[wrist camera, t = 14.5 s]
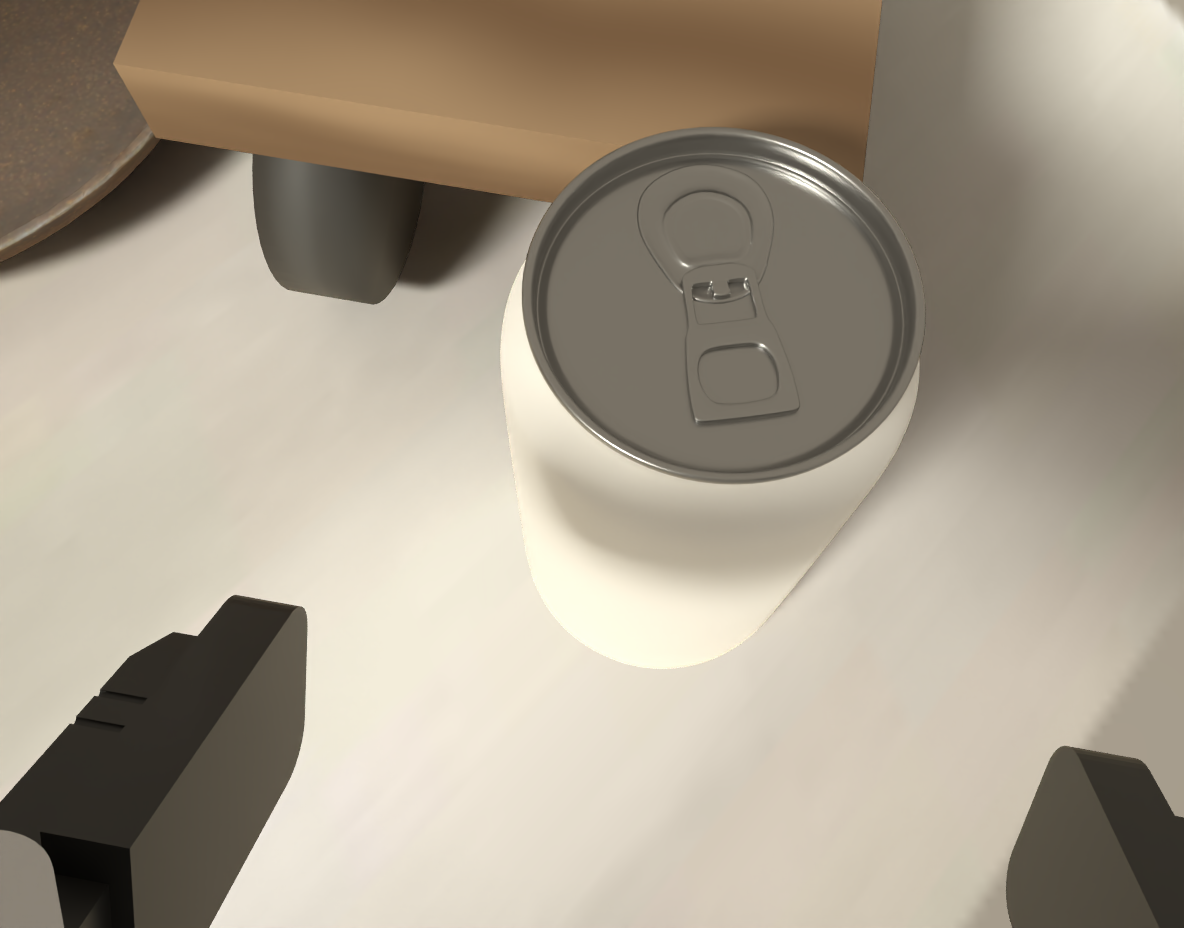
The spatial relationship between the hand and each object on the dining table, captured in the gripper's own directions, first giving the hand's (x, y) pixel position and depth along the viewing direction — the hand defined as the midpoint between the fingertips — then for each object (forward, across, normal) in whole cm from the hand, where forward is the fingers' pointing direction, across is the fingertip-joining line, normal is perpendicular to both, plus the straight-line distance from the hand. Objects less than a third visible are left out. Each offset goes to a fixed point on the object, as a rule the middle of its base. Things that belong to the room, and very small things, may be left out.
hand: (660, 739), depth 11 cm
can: (+14, 0, +5) cm, 15 cm away
